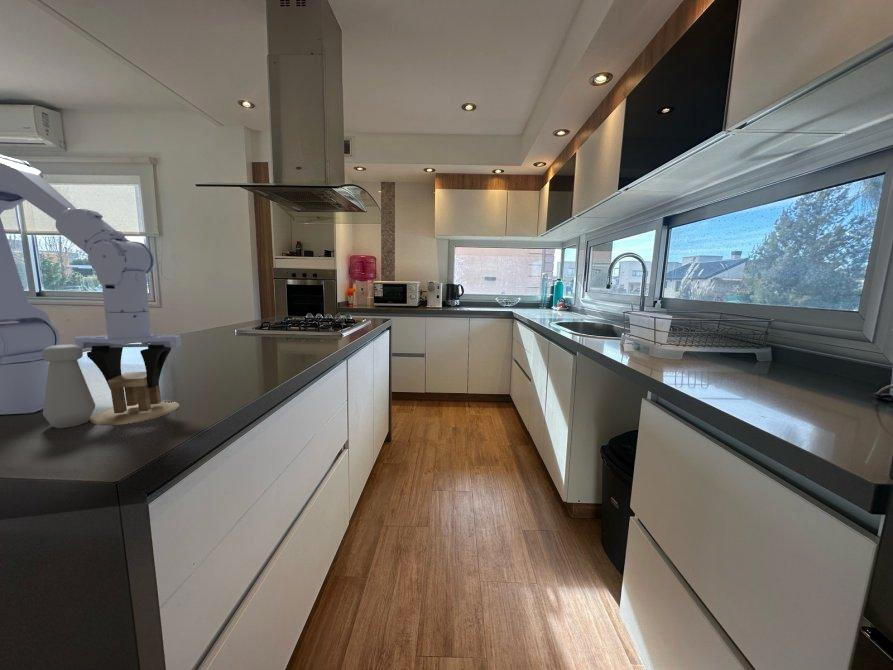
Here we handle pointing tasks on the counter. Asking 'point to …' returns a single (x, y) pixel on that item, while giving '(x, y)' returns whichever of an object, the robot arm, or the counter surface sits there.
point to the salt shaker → (66, 388)
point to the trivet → (133, 414)
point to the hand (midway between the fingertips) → (134, 387)
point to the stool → (133, 392)
